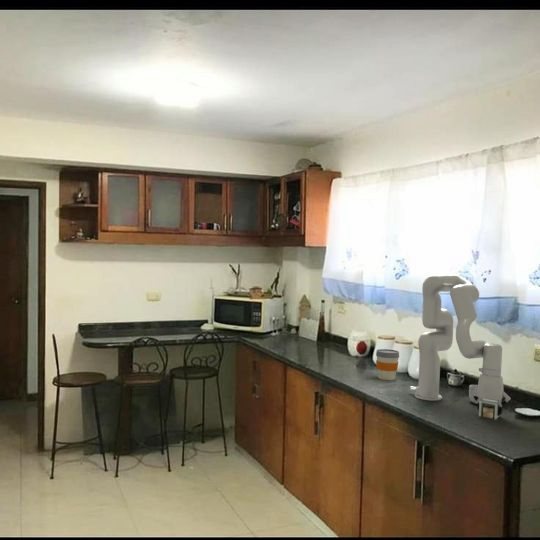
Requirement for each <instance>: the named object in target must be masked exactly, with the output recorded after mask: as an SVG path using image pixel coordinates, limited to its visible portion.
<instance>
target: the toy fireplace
mask: <svg viewBox="0 0 540 540" xmlns="http://www.w3.org/2000/svg"><path fill="white" fill-rule="evenodd" d="M485 406H490V407H495V417H494V418H493V419H494V420H497V419H499V417H500V416H498V415H497V414H498V406H499V404H498V402H497V401H495V400H489V399H482V400H481V401H480V402H479V412H478V417H483V407H485Z"/></svg>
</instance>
